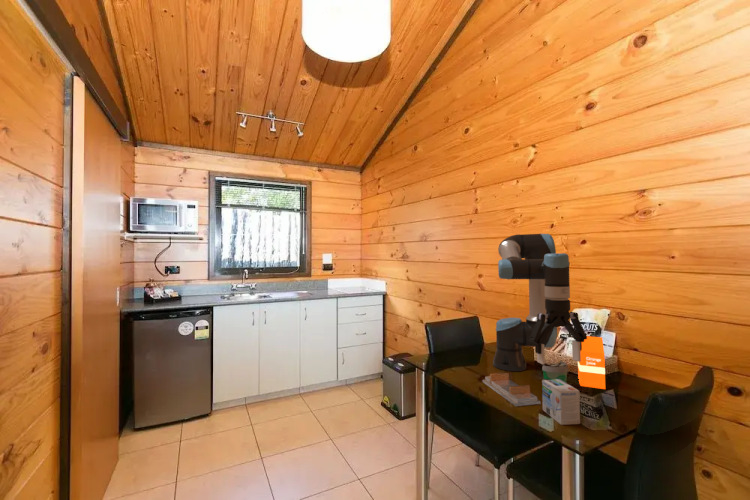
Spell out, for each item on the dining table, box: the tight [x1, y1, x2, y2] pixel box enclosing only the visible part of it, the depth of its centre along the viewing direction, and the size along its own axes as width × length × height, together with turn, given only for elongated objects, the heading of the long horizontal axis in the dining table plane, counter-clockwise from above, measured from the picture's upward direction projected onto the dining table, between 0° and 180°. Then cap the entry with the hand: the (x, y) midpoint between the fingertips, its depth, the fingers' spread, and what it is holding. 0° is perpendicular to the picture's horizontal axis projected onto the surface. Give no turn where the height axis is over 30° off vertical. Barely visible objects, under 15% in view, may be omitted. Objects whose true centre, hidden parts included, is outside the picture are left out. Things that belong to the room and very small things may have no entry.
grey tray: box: [482, 371, 542, 407], centre depth 132 cm, size 10×24×5 cm, turn 11°
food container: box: [541, 360, 570, 383], centre depth 134 cm, size 12×6×10 cm, turn 117°
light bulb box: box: [541, 379, 581, 426], centre depth 112 cm, size 11×7×11 cm, turn 5°
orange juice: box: [577, 335, 606, 390], centre depth 140 cm, size 8×9×20 cm
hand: (559, 361), depth 112 cm, fingers open, 13 cm apart
